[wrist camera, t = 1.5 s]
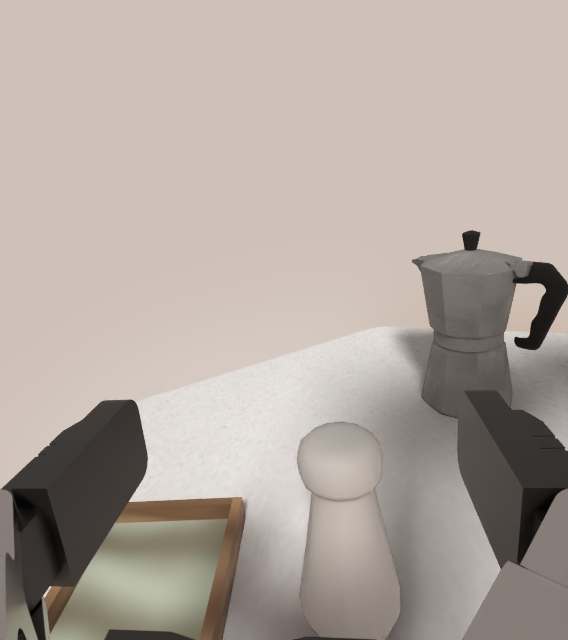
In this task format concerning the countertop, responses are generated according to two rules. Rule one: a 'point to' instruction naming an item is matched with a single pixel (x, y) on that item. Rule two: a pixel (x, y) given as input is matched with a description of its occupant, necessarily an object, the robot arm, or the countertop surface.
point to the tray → (156, 573)
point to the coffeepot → (479, 318)
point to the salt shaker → (346, 536)
